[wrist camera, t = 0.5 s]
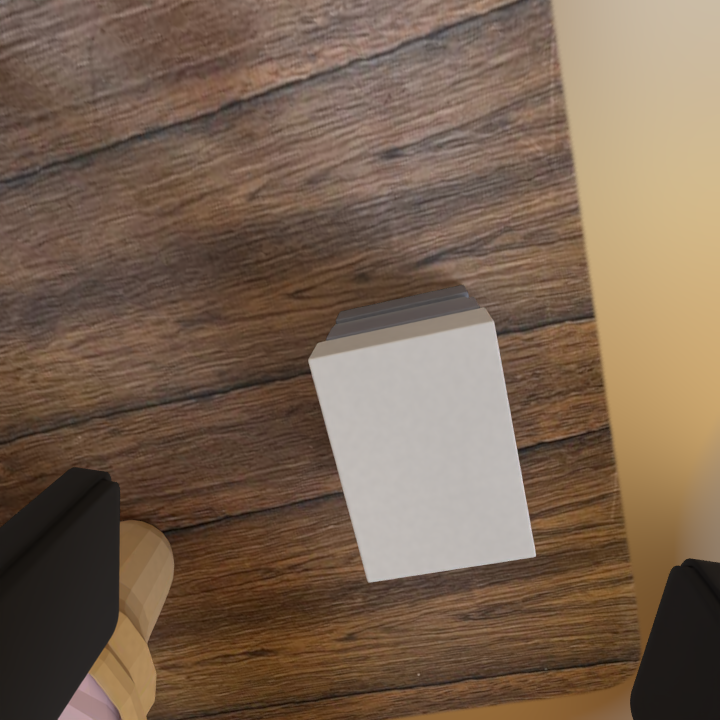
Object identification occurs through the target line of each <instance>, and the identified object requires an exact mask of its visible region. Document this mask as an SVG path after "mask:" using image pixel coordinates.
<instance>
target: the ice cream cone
mask: <svg viewBox="0 0 720 720" xmlns="http://www.w3.org/2000/svg"><path fill="white" fill-rule="evenodd" d="M173 574H174V560H173V553H172V549H171V546H170V543H169V541H168V540H167V538H166V537H165V535H164V534H163V533H162V532H161V531H159V530H158V529H157V528H156V527H154V526H152V525H150V524H148V523H145V522H143V521H136V520H127V521H122V522H120V571H119V617H118V622H117V625H116V628H115V631H114V633H113V635H112V637H111V638H110V640H109V642H108V643H107V645H106V646H105V648H104V649H103V651H102V652H101V654H100V655H99V657H98V658H97V660H96V662H95V663H94V665H93V666H92V668H91V669H90V671H89V672H88V674H87V675H86V677H85V678H84V680H83V681H82V683H81V685H80V686H79V688H78V689H77V691H76V692H75V694H74V695H73V697H72V698H71V700H70V701H69V703H68V705H67V706H66V708H65V709H64V711H63V712H62V714H61V715H60V717H59V718H58V720H147V718H146V715H147V713H148V712H149V710H150V708H151V706H152V705H153V703H154V701H155V688H156V671H155V667H154V664H153V661H152V658H151V655H150V652H149V649H148V646H147V642H148V639H149V637H150V635H151V632H152V630H153V628H154V625H155V623H156V621H157V618H158V616H159V614H160V611H161V609H162V607H163V604H164V602H165V599H166V597H167V595H168V592H169V589H170V586H171V583H172V580H173Z"/></svg>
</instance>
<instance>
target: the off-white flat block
mask: <svg viewBox="0 0 720 720" xmlns="http://www.w3.org/2000/svg"><path fill="white" fill-rule="evenodd" d="M308 362H309V366H310V370H311V373H312V377H313V381H314V384H315V388H316V392H317V396H318V399H319V403H320V407H321V410H322V414H323V418H324V422H325V425H326V429H327V433H328V436H329V440H330V444H331V447H332V451H333V455H334V459H335V462H336V466H337V470H338V473H339V477H340V481H341V485H342V488H343V492H344V496H345V499H346V503H347V507H348V510H349V514H350V518H351V522H352V525H353V529H354V533H355V536H356V540H357V544H358V548H359V551H360V555H361V559H362V562H363V566H364V570H365V574H366V577H367V581H368V582H376V581H382V580H389V579H395V578H402V577H408V576H415V575H421V574H428V573H434V572H440V571H447V570H453V569H460V568H466V567H473V566H479V565H486V564H492V563H499V562H505V561H512V560H518V559H525V558H531V557H535V556H536V552H535V546H534V541H533V535H532V530H531V524H530V519H529V513H528V508H527V502H526V496H525V491H524V485H523V480H522V474H521V469H520V463H519V457H518V452H517V446H516V441H515V435H514V430H513V424H512V419H511V413H510V407H509V402H508V396H507V391H506V385H505V380H504V374H503V368H502V363H501V357H500V352H499V346H498V341H497V335H496V330H495V324H494V321H493V319H492V318H491V316H490V315H489V313H488V312H487V310H486V309H485V308H479V309H474V310H469V311H465V312H460V313H455V314H451V315H446V316H441V317H437V318H432V319H427V320H422V321H418V322H413V323H408V324H404V325H399V326H394V327H390V328H385V329H380V330H376V331H371V332H366V333H361V334H357V335H352V336H347V337H343V338H338V339H333V340H329V341H324V342H319V343H317V345H316V347H315V348H314V350H313V352H312V354H311V356H310V357H309V359H308Z"/></svg>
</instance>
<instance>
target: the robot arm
mask: <svg viewBox="0 0 720 720" xmlns="http://www.w3.org/2000/svg"><path fill="white" fill-rule="evenodd" d="M119 571H120V487H119V484H118V483H117V482H112V481H111V477H110V474H109V473H108V472H104V471H97V470H90V469H83V468H76V467H73V468H71V469H69V470H68V471H67V472H66V473H64V474H63V475H62V476H61V477H60V478H59V479H57V480H56V481H55V482H54V483H53V484H51V485H50V486H49V487H48V488H47V489H45V490H44V491H43V492H42V493H41V494H40V495H38V496H37V497H36V498H35V499H34V500H32V501H31V502H30V503H29V504H28V505H26V506H25V507H24V508H23V509H22V510H21V511H19V512H18V513H17V514H16V515H15V516H13V517H12V518H11V519H10V520H9V521H7V522H6V523H5V524H4V525H3V526H2V527H0V720H58V718H59V717H60V715H61V714H62V712H63V711H64V709H65V708H66V706H67V705H68V703H69V701H70V700H71V698H72V697H73V695H74V694H75V692H76V691H77V689H78V688H79V686H80V685H81V683H82V681H83V680H84V678H85V677H86V675H87V674H88V672H89V671H90V669H91V668H92V666H93V665H94V663H95V662H96V660H97V658H98V657H99V655H100V654H101V652H102V651H103V649H104V648H105V646H106V645H107V643H108V642H109V640H110V638H111V637H112V635H113V633H114V631H115V628H116V625H117V622H118V617H119ZM630 706H631V713H632V717H633V720H720V563H717V562H710V561H704V560H696V559H686V560H685V561H684V562H683V563H682V564H681V566H675V567H673V568H672V570H671V572H670V574H669V577H668V580H667V583H666V586H665V589H664V593H663V595H662V599H661V602H660V605H659V608H658V611H657V614H656V617H655V620H654V623H653V627H652V630H651V633H650V636H649V639H648V642H647V645H646V649H645V651H644V654H643V658H642V661H641V664H640V667H639V670H638V674H637V676H636V679H635V682H634V686H633V689H632V692H631V698H630Z"/></svg>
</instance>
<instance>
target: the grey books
mask: <svg viewBox="0 0 720 720" xmlns="http://www.w3.org/2000/svg"><path fill="white" fill-rule="evenodd" d="M479 308H480V306H479V304H478V303H477V301H476V299H475V298H474V297H470V298H469V295H468V292H467V290H466V288H465V286H464V285H460V286H455V287H450V288H446V289H441V290H437V291H432V292H428V293H423V294H419V295H414V296H409V297H405V298H400V299H396V300H391V301H387V302H382V303H377V304H373V305H368V306H364V307H359V308H355V309H350V310H346V311H341V312H340V313H339V315H338V317H337V319H336V325H334V327H332V329H331V330H330V332H329V334H328V336H327V338H326V341H329V340H333V339H338V338H343V337H347V336H352V335H357V334H361V333H366V332H371V331H376V330H380V329H385V328H390V327H394V326H399V325H404V324H408V323H413V322H418V321H422V320H427V319H432V318H437V317H441V316H446V315H451V314H455V313H460V312H465V311H469V310H474V309H479Z"/></svg>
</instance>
